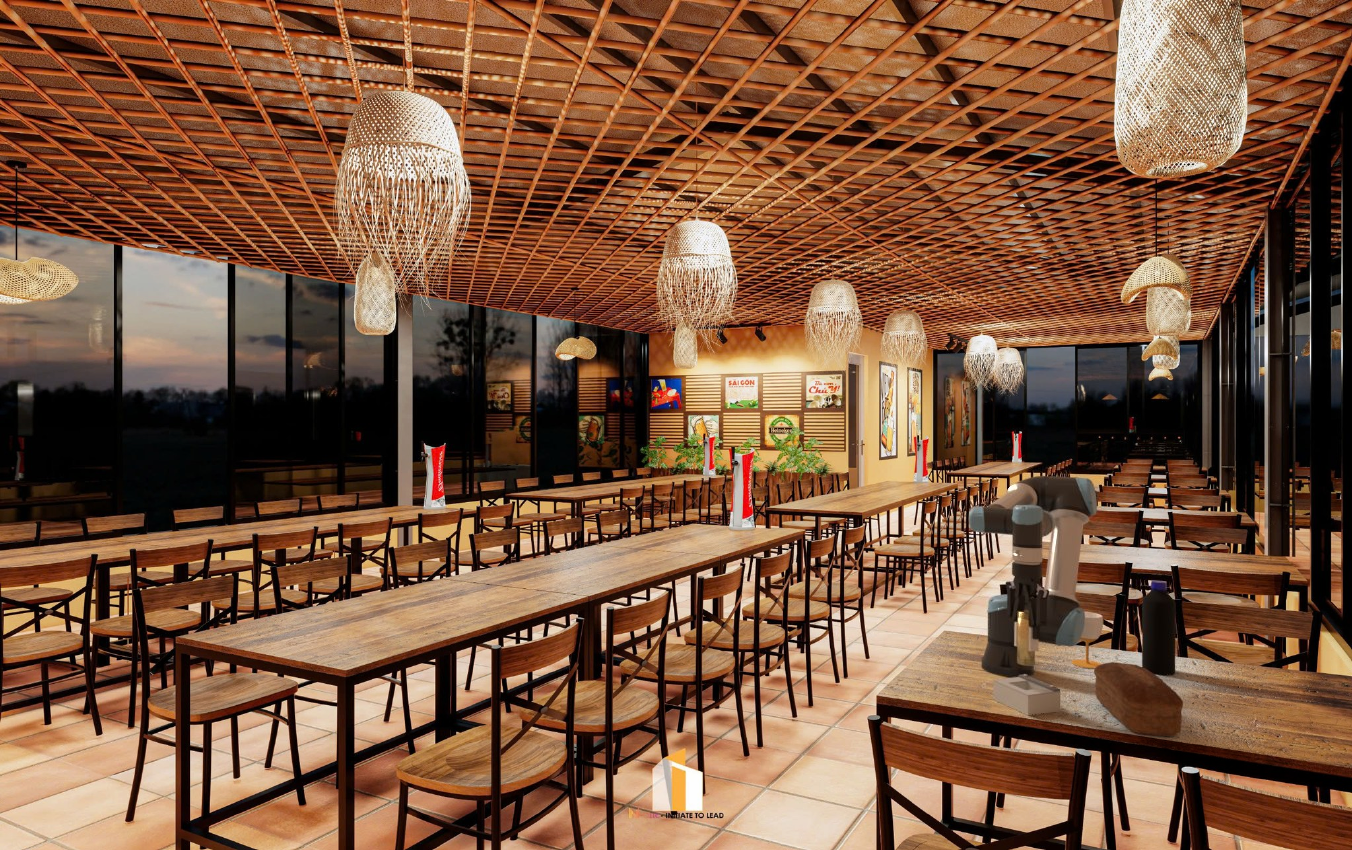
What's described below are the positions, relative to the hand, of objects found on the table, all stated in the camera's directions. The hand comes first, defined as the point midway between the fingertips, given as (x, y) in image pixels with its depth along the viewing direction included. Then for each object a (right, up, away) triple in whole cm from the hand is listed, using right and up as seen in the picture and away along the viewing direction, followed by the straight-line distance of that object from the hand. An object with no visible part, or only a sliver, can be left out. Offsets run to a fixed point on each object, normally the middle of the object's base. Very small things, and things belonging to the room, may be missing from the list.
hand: (1026, 648), depth 210 cm
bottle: (+56, -17, +32) cm, 66 cm away
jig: (0, -16, 0) cm, 16 cm away
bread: (+25, -16, -8) cm, 31 cm away
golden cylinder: (0, -4, 0) cm, 4 cm away
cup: (+37, -16, +38) cm, 55 cm away
